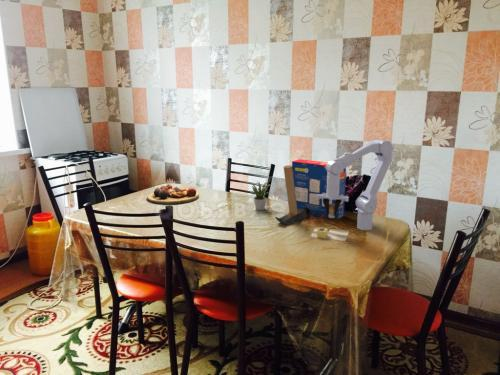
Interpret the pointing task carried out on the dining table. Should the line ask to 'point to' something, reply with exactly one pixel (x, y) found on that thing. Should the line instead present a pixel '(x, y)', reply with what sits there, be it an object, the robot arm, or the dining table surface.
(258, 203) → the house plant
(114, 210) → the dining table surface
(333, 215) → the grey-capped tan cylinder
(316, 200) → the blue product box
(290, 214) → the hammer
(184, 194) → the wooden plate with food
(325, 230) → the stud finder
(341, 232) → the striped beige square plate
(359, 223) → the robot arm
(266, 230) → the dining table surface
